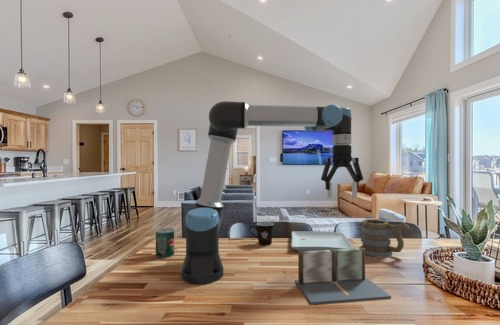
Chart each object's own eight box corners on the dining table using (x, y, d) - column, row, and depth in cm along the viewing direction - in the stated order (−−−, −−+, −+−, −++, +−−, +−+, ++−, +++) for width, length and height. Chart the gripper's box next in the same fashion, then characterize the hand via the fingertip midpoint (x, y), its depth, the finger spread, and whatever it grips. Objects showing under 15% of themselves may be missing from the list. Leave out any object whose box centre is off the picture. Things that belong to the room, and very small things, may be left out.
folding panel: (337, 281, 92) (337, 250, 92) (335, 278, 94) (335, 249, 94) (366, 279, 93) (366, 249, 93) (363, 277, 95) (363, 247, 95)
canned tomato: (175, 256, 119) (175, 231, 119) (156, 259, 115) (156, 233, 115) (172, 251, 126) (172, 227, 126) (154, 253, 123) (154, 229, 123)
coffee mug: (276, 242, 139) (276, 223, 139) (268, 247, 131) (268, 226, 131) (256, 239, 145) (256, 220, 145) (248, 243, 138) (248, 223, 138)
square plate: (291, 237, 150) (291, 230, 150) (343, 239, 146) (343, 232, 146) (291, 253, 124) (291, 245, 124) (354, 256, 119) (354, 247, 119)
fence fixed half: (299, 284, 90) (299, 252, 90) (297, 281, 92) (297, 250, 92) (337, 282, 92) (337, 250, 92) (334, 279, 94) (334, 248, 94)
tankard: (355, 252, 124) (355, 219, 124) (367, 246, 133) (367, 215, 133) (403, 263, 110) (403, 226, 110) (413, 256, 118) (413, 221, 118)
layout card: (311, 304, 79) (311, 301, 79) (295, 281, 93) (295, 279, 93) (390, 298, 82) (390, 295, 82) (363, 277, 97) (363, 275, 97)
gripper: (319, 144, 110) (319, 199, 110) (372, 144, 113) (372, 197, 113) (312, 145, 118) (312, 196, 118) (362, 145, 121) (362, 195, 121)
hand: (342, 197), depth 115 cm, fingers open, 10 cm apart
